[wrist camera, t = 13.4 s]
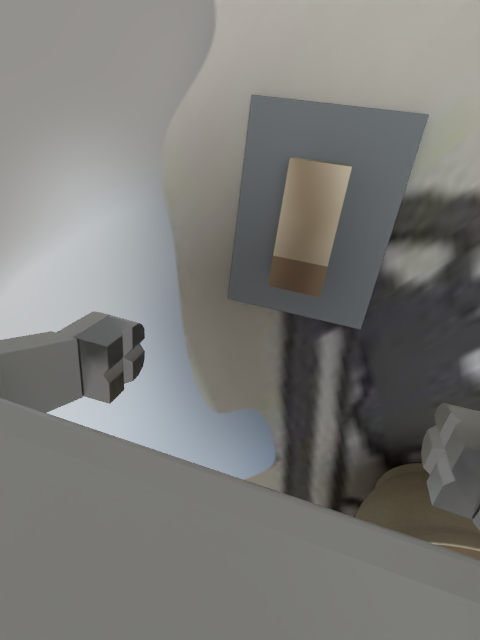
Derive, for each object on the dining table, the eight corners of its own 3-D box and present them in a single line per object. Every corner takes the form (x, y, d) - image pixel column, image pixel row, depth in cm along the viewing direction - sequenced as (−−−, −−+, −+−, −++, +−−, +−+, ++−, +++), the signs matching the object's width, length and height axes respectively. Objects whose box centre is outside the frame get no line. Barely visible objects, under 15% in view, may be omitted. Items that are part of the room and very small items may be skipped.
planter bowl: (344, 536, 42) (342, 648, 32) (339, 427, 36) (335, 526, 26) (505, 563, 37) (558, 705, 27) (532, 442, 31) (612, 570, 21)
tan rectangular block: (352, 165, 25) (352, 166, 22) (323, 282, 29) (320, 297, 26) (297, 157, 26) (289, 157, 23) (276, 272, 30) (267, 285, 27)
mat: (360, 326, 31) (360, 329, 30) (229, 296, 33) (227, 298, 32) (427, 115, 23) (429, 114, 23) (253, 96, 26) (251, 94, 25)
